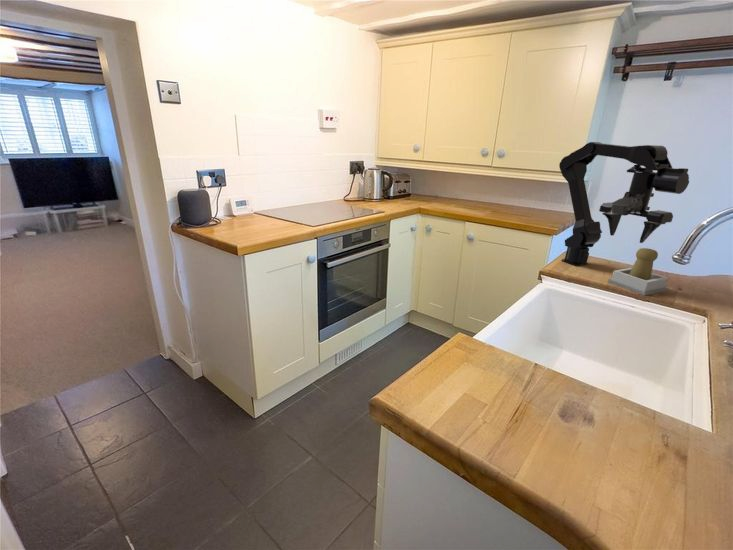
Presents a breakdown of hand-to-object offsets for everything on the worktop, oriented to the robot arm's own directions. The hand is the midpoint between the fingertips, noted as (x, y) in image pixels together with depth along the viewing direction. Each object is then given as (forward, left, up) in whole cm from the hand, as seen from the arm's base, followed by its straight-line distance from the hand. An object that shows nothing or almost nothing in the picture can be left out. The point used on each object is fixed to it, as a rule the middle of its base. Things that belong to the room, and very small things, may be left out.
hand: (626, 238), depth 113 cm
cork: (+8, -1, -12) cm, 15 cm away
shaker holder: (+8, -2, -13) cm, 15 cm away
